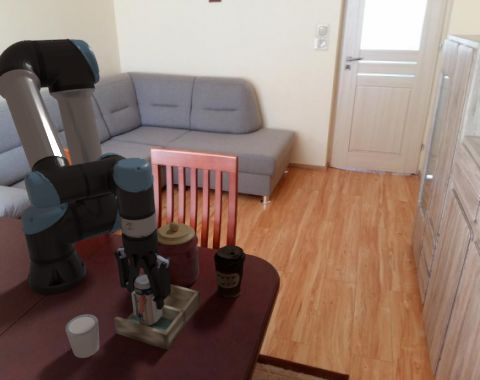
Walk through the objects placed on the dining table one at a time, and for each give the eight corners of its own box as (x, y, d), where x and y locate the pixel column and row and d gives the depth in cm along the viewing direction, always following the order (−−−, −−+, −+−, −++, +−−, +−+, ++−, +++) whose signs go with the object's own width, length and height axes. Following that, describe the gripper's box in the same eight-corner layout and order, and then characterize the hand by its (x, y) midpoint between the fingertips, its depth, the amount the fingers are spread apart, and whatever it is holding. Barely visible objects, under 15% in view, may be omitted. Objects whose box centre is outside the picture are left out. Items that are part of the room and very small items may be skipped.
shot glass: (75, 338, 94) (70, 314, 91) (105, 336, 95) (101, 313, 92) (66, 361, 88) (60, 336, 85) (98, 359, 88) (93, 335, 86)
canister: (206, 267, 121) (204, 215, 114) (189, 293, 110) (186, 237, 102) (166, 260, 124) (162, 209, 117) (146, 284, 113) (140, 230, 106)
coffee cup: (241, 303, 106) (241, 262, 101) (210, 299, 107) (209, 258, 102) (247, 283, 114) (248, 244, 108) (219, 280, 115) (218, 241, 110)
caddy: (116, 333, 96) (114, 318, 94) (154, 292, 110) (152, 279, 108) (167, 350, 91) (166, 334, 89) (199, 305, 105) (199, 291, 103)
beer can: (136, 317, 97) (131, 276, 92) (155, 310, 99) (151, 270, 94) (141, 329, 93) (136, 287, 88) (161, 323, 95) (157, 281, 90)
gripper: (94, 230, 86) (107, 315, 95) (166, 246, 80) (172, 336, 89) (116, 215, 92) (126, 296, 102) (184, 229, 86) (188, 314, 96)
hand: (148, 315), depth 95 cm, fingers closed on beer can, 5 cm apart
